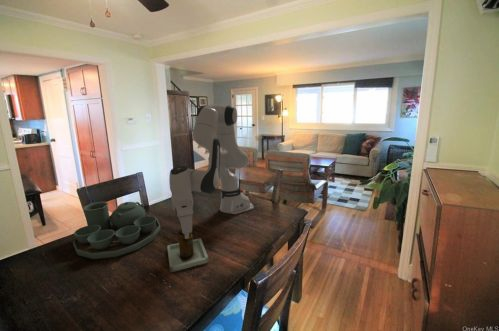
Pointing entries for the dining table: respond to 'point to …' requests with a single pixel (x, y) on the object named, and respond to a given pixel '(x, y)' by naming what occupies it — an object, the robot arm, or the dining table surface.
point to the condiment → (186, 247)
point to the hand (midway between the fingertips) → (185, 232)
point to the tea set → (114, 230)
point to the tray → (179, 264)
